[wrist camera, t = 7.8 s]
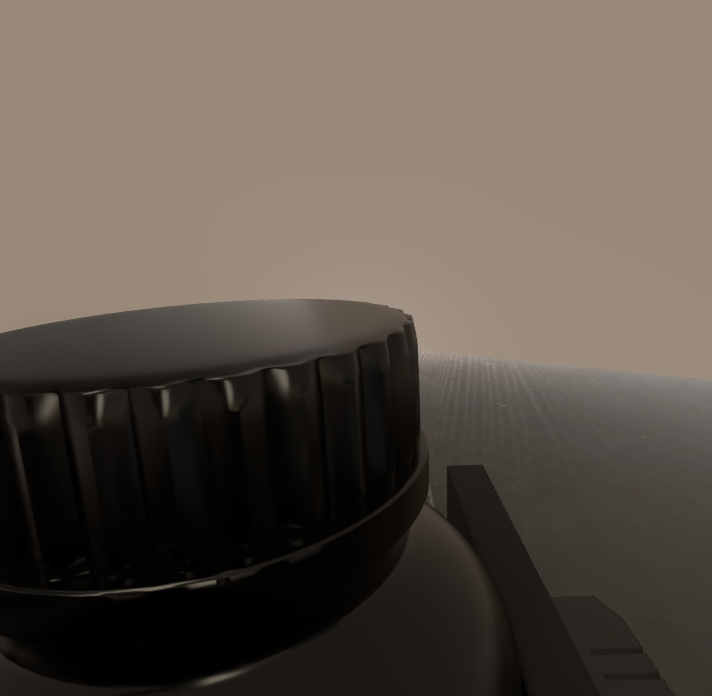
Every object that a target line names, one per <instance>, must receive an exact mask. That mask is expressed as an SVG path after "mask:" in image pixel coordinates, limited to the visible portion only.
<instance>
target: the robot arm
mask: <svg viewBox="0 0 712 696" xmlns="http://www.w3.org/2000/svg"><path fill="white" fill-rule="evenodd" d="M447 519H448V520H449V521H450V522H451V523H452V524H453V525H454V526H455V527H456V528H457V529H458V530H459V531H460V533H461V534H462V535H463V536H464V537H465V538H466V539H467V541H468V542H469V543H470V544H471V545H472V547H473V548H474V550H475V551H476V553H477V554H478V556H479V557H480V558H481V560H482V561H483V563H484V564H485V566H486V567H487V569H488V571H489V573H490V574H491V576H492V578H493V580H494V582H495V584H496V586H497V588H498V590H499V592H500V594H501V596H502V598H503V600H504V603H505V606H506V608H507V611H508V614H509V617H510V619H511V623H512V626H513V630H514V634H515V639H516V643H517V647H518V653H519V663H520V674H521V686H522V696H675V695H674V694H673V692H672V691H671V689H670V688H669V686H668V685H667V683H666V682H665V680H664V679H661V678H660V675H659V671H658V670H657V668H656V667H655V665H654V664H653V663H652V661H651V660H650V658H649V657H648V655H647V654H644V652H643V648H642V646H641V645H640V643H639V642H638V640H637V639H636V637H635V636H634V634H633V633H632V631H631V630H630V628H629V627H628V625H627V624H626V622H625V621H624V619H622V618H621V617H620V616H619V615H617V614H616V613H615V612H614V611H612V610H611V609H610V608H609V607H607V606H606V605H605V604H604V603H602V602H601V601H600V600H599V599H597V598H596V597H595V596H579V597H550V596H549V594H548V592H547V590H546V588H545V586H544V584H543V582H542V580H541V578H540V576H539V574H538V572H537V570H536V568H535V566H534V564H533V562H532V560H531V558H530V557H529V555H528V553H527V551H526V549H525V547H524V545H523V543H522V541H521V539H520V537H519V535H518V533H517V531H516V529H515V527H514V525H513V523H512V521H511V519H510V518H509V516H508V514H507V512H506V510H505V508H504V506H503V504H502V502H501V500H500V498H499V496H498V494H497V492H496V490H495V488H494V486H493V484H492V482H491V480H490V479H489V477H488V475H487V473H486V471H485V469H484V467H483V465H461V466H447Z"/></svg>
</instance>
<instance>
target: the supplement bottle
mask: <svg viewBox="0 0 712 696" xmlns="http://www.w3.org/2000/svg"><path fill="white" fill-rule="evenodd" d="M428 484H429V449H428V441H427V437H426V434H425V432H424V430H423V428H422V427H421V425H420V396H419V367H418V345H417V337H416V332H415V327H414V322H413V318H412V316H411V315H408V314H405V313H403V311H402V310H400V309H394V308H389V307H388V306H386V305H378V304H371V303H367V302H357V301H345V300H324V299H277V300H250V301H231V302H216V303H202V304H191V305H180V306H170V307H160V308H152V309H143V310H135V311H126V312H119V313H111V314H104V315H97V316H90V317H84V318H77V319H71V320H65V321H60V322H54V323H48V324H43V325H38V326H33V327H28V328H23V329H18V330H13V331H9V332H4V333H0V696H522V686H521V674H520V663H519V653H518V647H517V643H516V639H515V634H514V630H513V626H512V623H511V619H510V617H509V614H508V611H507V608H506V606H505V603H504V600H503V598H502V596H501V594H500V592H499V590H498V588H497V586H496V584H495V582H494V580H493V578H492V576H491V574H490V573H489V571H488V569H487V567H486V566H485V564H484V563H483V561H482V560H481V558H480V557H479V556H478V554H477V553H476V551H475V550H474V548H473V547H472V545H471V544H470V543H469V542H468V541H467V539H466V538H465V537H464V536H463V535H462V534H461V533H460V531H459V530H458V529H457V528H456V527H455V526H454V525H453V524H452V523H451V522H450V521H449V520H448V519H447V518H445V517H444V516H443V515H442V514H441V513H440V512H439V511H438V510H436V509H435V508H434V507H432V506H431V505H429V504H428V503H427V502H425V500H426V497H427V493H428Z"/></svg>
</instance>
